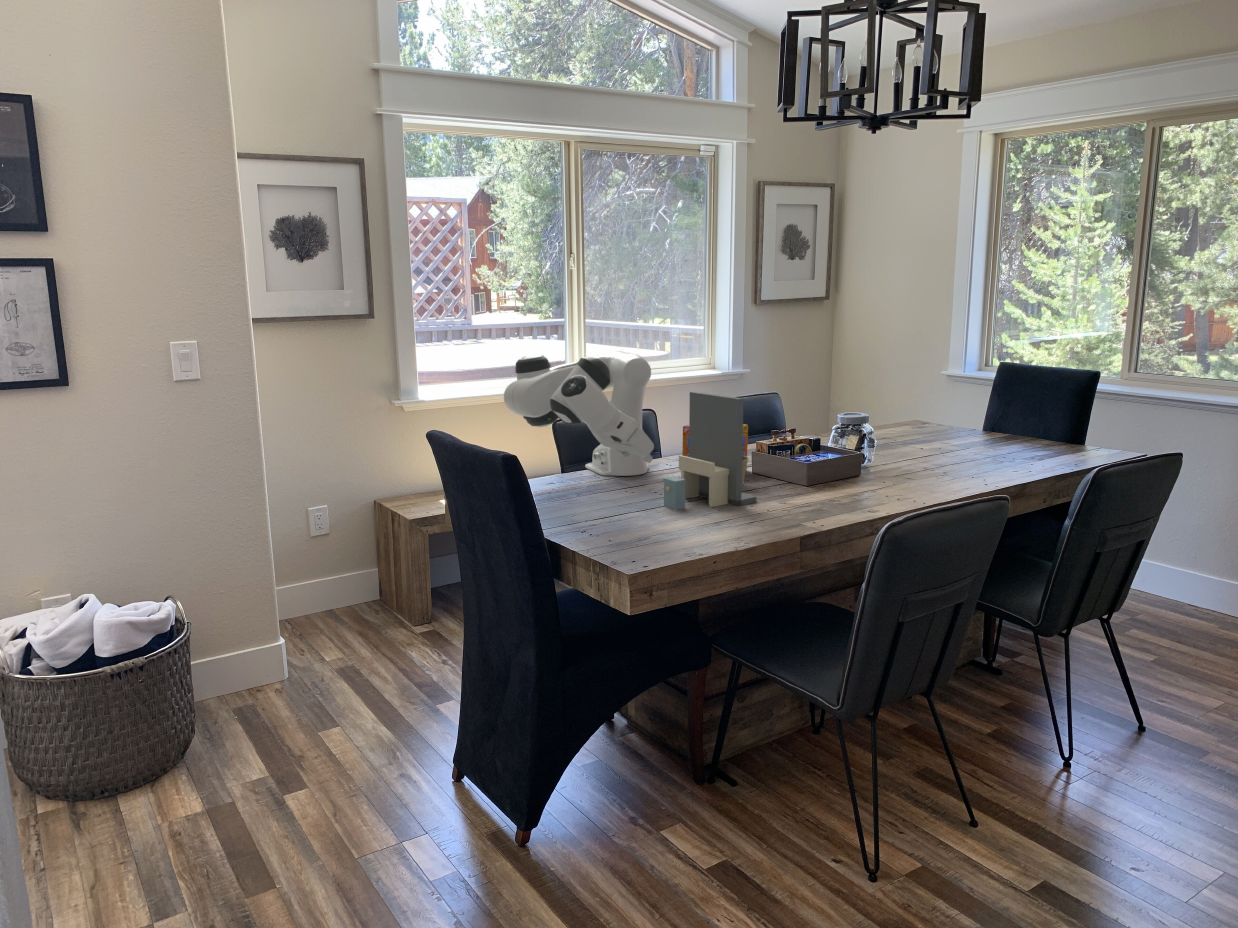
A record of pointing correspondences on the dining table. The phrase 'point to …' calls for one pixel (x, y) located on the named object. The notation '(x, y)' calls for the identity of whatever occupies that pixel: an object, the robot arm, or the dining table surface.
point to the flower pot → (744, 467)
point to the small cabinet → (674, 493)
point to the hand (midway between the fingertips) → (638, 457)
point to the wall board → (715, 450)
